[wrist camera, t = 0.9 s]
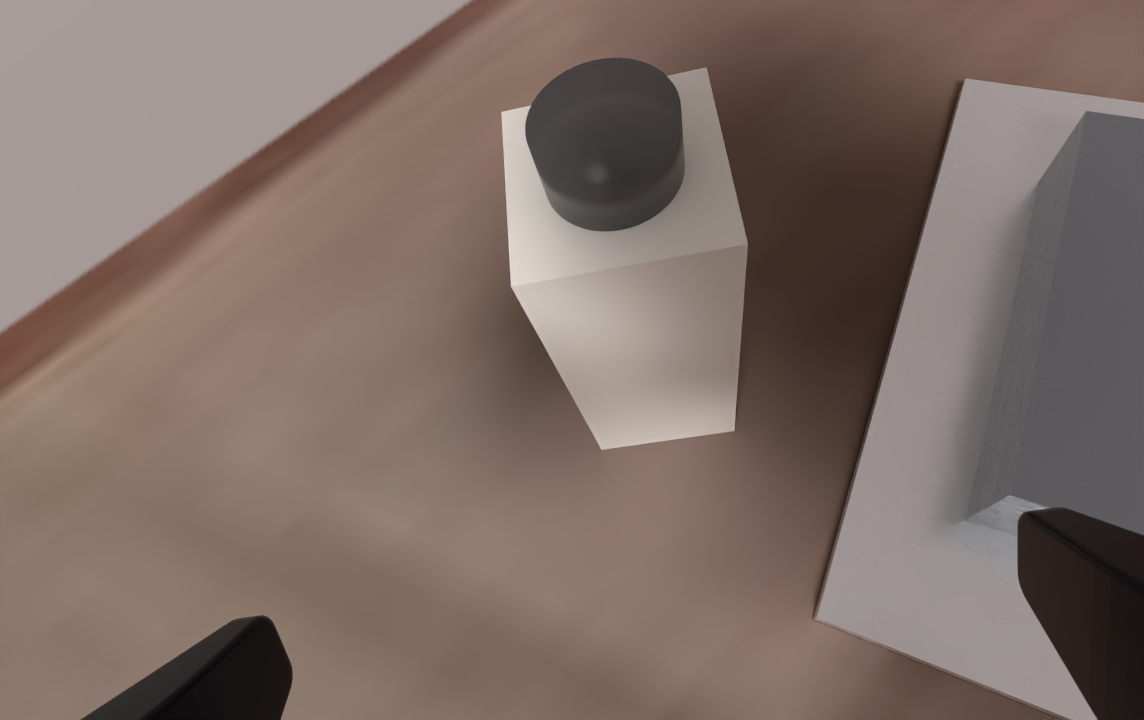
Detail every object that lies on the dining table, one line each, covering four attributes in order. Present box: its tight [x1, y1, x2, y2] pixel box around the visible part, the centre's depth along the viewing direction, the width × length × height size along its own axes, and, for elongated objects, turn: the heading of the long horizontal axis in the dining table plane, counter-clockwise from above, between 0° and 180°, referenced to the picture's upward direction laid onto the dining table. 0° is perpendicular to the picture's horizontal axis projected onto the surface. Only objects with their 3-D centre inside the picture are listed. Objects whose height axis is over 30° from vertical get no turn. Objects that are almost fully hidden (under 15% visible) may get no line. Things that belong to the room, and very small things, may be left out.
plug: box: [502, 58, 748, 450], centre depth 17 cm, size 4×4×12 cm
